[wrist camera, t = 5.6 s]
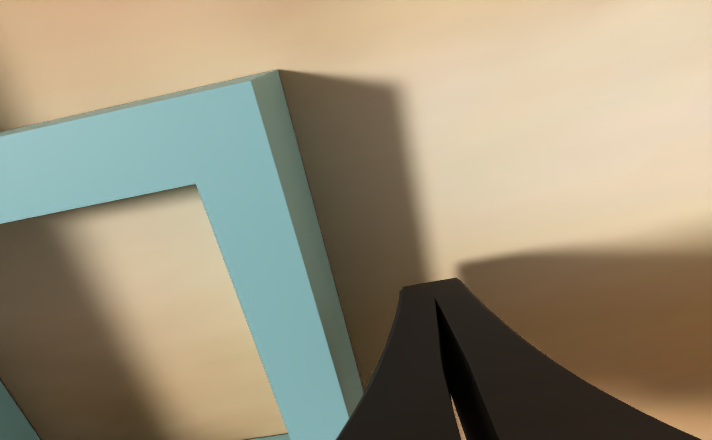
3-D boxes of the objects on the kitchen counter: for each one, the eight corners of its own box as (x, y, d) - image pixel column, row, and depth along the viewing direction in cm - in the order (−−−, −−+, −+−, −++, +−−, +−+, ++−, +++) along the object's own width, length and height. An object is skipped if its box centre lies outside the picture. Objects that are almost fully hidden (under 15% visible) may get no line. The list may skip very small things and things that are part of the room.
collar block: (39, 502, 15) (-19, 586, 13) (-201, 176, 11) (-358, 216, 8) (380, 455, 14) (384, 538, 12) (277, 69, 9) (250, 80, 7)
